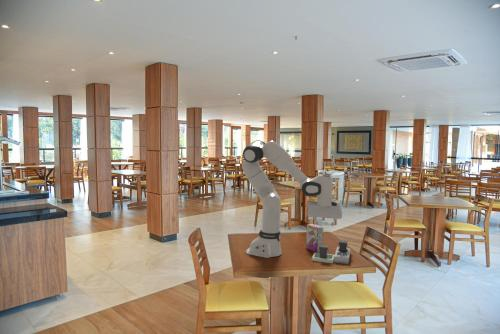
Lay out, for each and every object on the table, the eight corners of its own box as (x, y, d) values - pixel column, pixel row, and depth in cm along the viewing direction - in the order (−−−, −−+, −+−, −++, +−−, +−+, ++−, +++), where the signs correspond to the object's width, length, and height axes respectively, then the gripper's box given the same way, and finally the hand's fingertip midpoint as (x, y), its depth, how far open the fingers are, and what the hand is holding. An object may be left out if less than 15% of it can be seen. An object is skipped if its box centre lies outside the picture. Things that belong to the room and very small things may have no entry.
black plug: (318, 260, 203) (319, 246, 202) (319, 257, 207) (320, 244, 207) (327, 261, 201) (327, 247, 201) (327, 258, 206) (328, 245, 205)
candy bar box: (305, 248, 226) (306, 224, 225) (311, 247, 229) (311, 223, 228) (317, 253, 217) (317, 228, 216) (322, 252, 219) (323, 227, 218)
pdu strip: (334, 263, 199) (334, 255, 199) (337, 253, 218) (337, 245, 218) (348, 265, 196) (348, 257, 196) (350, 254, 216) (350, 247, 215)
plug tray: (312, 261, 201) (312, 257, 201) (314, 256, 211) (314, 252, 211) (332, 264, 198) (333, 260, 197) (334, 258, 207) (334, 254, 207)
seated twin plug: (338, 255, 210) (338, 242, 209) (339, 252, 214) (339, 240, 214) (346, 255, 208) (347, 243, 208) (347, 253, 213) (347, 240, 212)
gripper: (306, 201, 203) (306, 224, 204) (341, 203, 195) (341, 227, 196) (308, 200, 209) (308, 222, 210) (342, 201, 201) (342, 225, 202)
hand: (324, 225), depth 203 cm, fingers open, 8 cm apart
